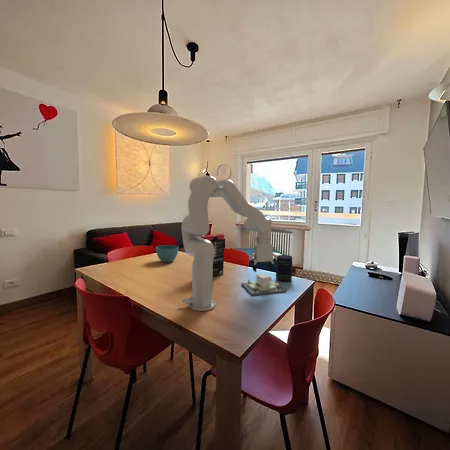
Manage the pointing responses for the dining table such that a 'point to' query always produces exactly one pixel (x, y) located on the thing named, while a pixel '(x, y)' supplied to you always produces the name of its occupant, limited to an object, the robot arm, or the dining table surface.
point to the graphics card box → (217, 252)
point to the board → (272, 286)
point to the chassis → (257, 292)
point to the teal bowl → (167, 252)
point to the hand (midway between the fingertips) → (262, 270)
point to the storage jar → (284, 268)
